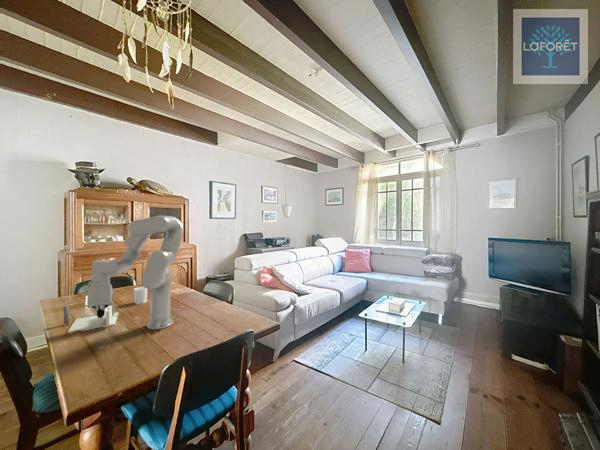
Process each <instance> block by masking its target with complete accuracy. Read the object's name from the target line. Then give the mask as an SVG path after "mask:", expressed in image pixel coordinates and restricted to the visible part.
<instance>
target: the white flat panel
mask: <svg viewBox="0 0 600 450" xmlns="http://www.w3.org/2000/svg"><path fill="white" fill-rule="evenodd" d="M105 314H106V327H105V328H108V326H109V325H110V322H111V318H112V305H111V306H108V307H106V310H105Z"/></svg>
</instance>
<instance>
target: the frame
mask: <svg viewBox="0 0 600 450" xmlns="http://www.w3.org/2000/svg"><path fill="white" fill-rule="evenodd" d="M69 311H70V306H69V305H66V306H63V325H64V324H68V323H69V324H70V319H69V318H70V316H69V315H70V312H69ZM117 316H118V317H119V312H118V311H117V312H114V304H113V305H112V318H111V322H110V325H109V326H110V327H112V326H111V325H115V326H116V324H117V320H118V317H117ZM104 326H106V313H105V315H104V316H103V317H102V318H98V316H97V315H92V316H85V317H79V318H75V320H74V321H73V323H72V324H71V326H70V327H69V329H68V330H67V332H71V331H79V330H86V329H92V328H98V327H104ZM104 328H105V327H104Z"/></svg>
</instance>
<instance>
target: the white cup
mask: <svg viewBox="0 0 600 450" xmlns="http://www.w3.org/2000/svg"><path fill="white" fill-rule="evenodd" d="M133 297H134V304H135V305H143V304H146V303H147V300H148V299H147V298H148V289H146V288H145V287H144V286H139V287H138V286H137V287H135V288H133Z"/></svg>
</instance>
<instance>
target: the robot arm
mask: <svg viewBox="0 0 600 450" xmlns="http://www.w3.org/2000/svg"><path fill="white" fill-rule="evenodd" d="M127 228H128V233H129V235H128V236H127V238H126V239H125V240H124V242H123V243H124V245H125V246H126V248H127V249H126V251H125V252H124V253H123V255H122V256H121V257H120V258H118V259H114V260H111V261H110V260H109V259H97V260H94V261H92V264H91V266H92V267H91V280H90V281H88V285H91V286H89V289H88V294H87V301H86V303H87V304H86V305H87V307H88V308H91V309H94V310H95V311H96V316H98V318H102V317H103V316H104V315H105V314H106V310H105V309H107V308H108V306H111V305H113V306H114V290H113V285H112V284H111V276H116V275H119V274H121V273H125V272H127V271H129V270H130V269H132V267H133V266H134V265H135V263H136V262H137V260H138V259H139V257H140V255H141V250H142V248H143V247H144V246H145V244H146V242H147V241H148V240H149V238H151V236H152V235H153V234H159V233H163V232H164V233H165V232H166V235H165V236H164V238H163V240H162V244H161V247H160V249H159V250H155V251H153V252H152V253H151V254H150V255H149V257H148V259H147V262H146V265H145V268H144V270H143V273H142V277H141V284H142V287H145V288H146V289H147V290H150V293H149V294H150V295H149V296H150V302H149V307H150V308H149V310H150V311H149V313H150V314H149V316H150V317H149V319H150V321H149V322H148V323H147V324H146V328H147V329H149V330H161V329H165V328H168V327H170V326H172V325H173V324H174V319H173V318H171V288H172V287H171V286H172V279H173V274H172V273H173V272H172V271H171V269H170V268H168V267H169V266H171V265H172V264H174V263H175V261H176V258H177V255H178V253H179V249H180V245H181V242H182V240H183V236H184V226H183V223H182V222H181V220H180V219H178V218H177V217H175V216H173V215H172V216H171V215H155V216H151V217H147V218H141V219H135V220H133V221H132V222H130V223H129V225H128V227H127Z"/></svg>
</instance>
